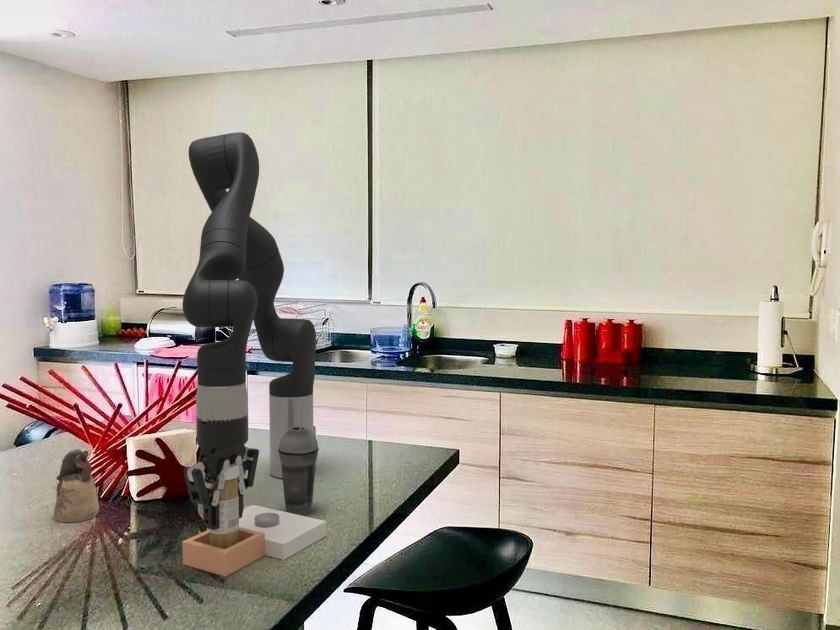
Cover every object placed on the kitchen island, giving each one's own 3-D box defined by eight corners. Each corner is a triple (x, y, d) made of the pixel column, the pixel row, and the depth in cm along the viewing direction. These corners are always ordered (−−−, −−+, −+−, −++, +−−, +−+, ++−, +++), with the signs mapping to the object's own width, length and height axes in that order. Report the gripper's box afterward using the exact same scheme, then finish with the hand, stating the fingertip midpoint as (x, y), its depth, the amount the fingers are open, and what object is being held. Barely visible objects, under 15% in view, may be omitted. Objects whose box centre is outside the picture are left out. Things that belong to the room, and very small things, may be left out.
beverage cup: (303, 502, 135) (303, 397, 133) (327, 512, 129) (326, 403, 128) (270, 511, 130) (269, 403, 128) (293, 522, 124) (292, 409, 123)
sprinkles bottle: (229, 541, 112) (228, 458, 111) (245, 550, 109) (244, 464, 108) (202, 550, 109) (201, 463, 108) (218, 559, 105) (217, 470, 104)
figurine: (80, 506, 131) (79, 442, 130) (108, 512, 128) (106, 447, 127) (45, 518, 125) (43, 451, 124) (73, 525, 122) (71, 457, 121)
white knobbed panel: (252, 518, 126) (252, 499, 126) (326, 535, 118) (326, 515, 118) (165, 559, 109) (164, 536, 109) (244, 582, 101) (244, 558, 101)
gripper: (236, 401, 115) (238, 504, 116) (167, 419, 103) (169, 534, 104) (273, 406, 111) (273, 513, 113) (205, 425, 99) (207, 544, 100)
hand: (223, 522), depth 108 cm, fingers closed on sprinkles bottle, 4 cm apart
